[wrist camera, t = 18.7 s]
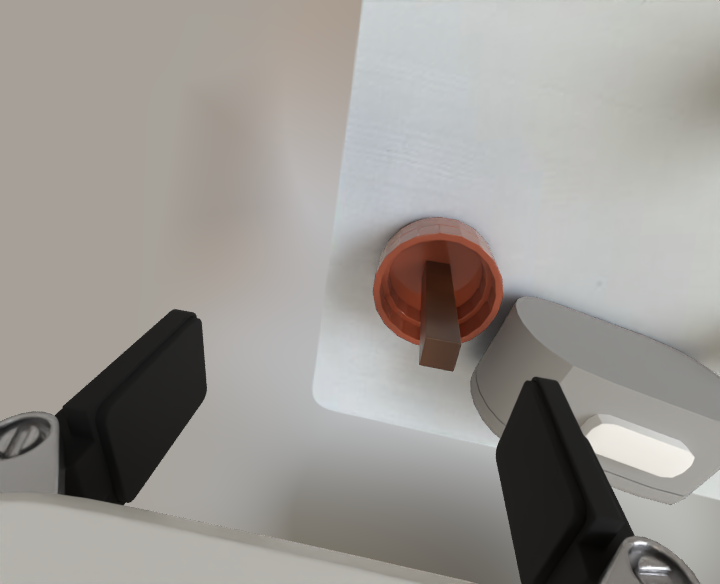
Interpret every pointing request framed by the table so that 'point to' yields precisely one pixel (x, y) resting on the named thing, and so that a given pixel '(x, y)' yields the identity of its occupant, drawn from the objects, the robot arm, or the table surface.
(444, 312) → the stick
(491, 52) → the table surface
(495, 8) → the table surface
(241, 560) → the robot arm
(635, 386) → the alarm clock
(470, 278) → the bowl
